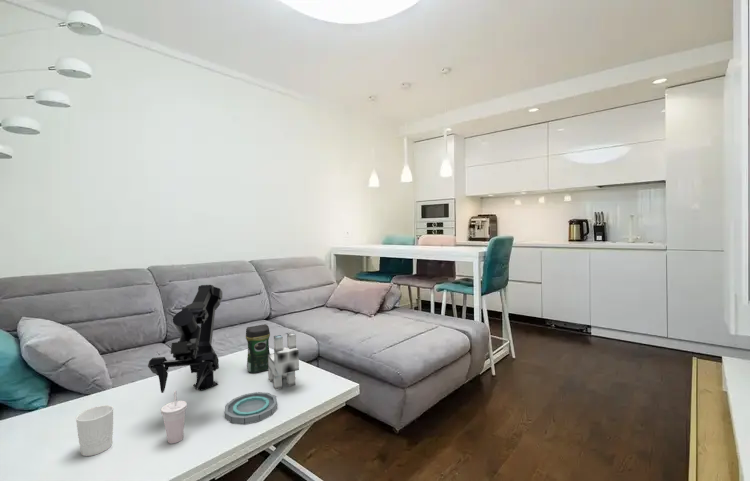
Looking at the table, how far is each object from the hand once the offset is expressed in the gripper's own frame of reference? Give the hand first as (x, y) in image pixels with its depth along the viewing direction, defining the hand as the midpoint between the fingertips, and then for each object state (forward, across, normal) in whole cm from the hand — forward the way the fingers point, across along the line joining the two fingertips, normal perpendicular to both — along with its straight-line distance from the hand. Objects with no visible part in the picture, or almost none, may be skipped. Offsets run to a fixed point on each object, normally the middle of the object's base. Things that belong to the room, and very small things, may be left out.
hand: (179, 390), depth 103 cm
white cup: (+11, -20, +6) cm, 24 cm away
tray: (+4, +19, +13) cm, 23 cm away
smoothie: (+12, 0, +5) cm, 13 cm away
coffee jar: (-20, +18, +36) cm, 45 cm away
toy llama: (-8, +28, +25) cm, 39 cm away
